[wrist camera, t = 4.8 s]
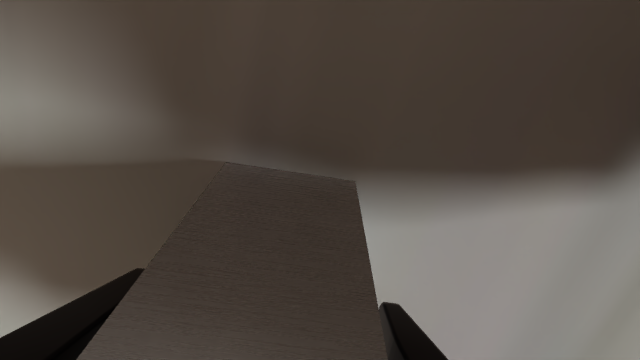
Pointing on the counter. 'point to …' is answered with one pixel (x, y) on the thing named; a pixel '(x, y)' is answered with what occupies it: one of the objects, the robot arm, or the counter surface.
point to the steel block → (254, 278)
